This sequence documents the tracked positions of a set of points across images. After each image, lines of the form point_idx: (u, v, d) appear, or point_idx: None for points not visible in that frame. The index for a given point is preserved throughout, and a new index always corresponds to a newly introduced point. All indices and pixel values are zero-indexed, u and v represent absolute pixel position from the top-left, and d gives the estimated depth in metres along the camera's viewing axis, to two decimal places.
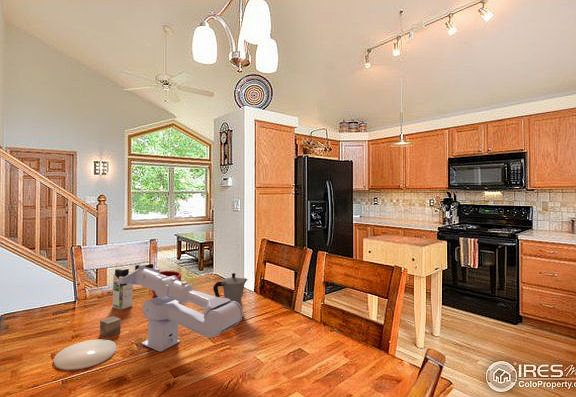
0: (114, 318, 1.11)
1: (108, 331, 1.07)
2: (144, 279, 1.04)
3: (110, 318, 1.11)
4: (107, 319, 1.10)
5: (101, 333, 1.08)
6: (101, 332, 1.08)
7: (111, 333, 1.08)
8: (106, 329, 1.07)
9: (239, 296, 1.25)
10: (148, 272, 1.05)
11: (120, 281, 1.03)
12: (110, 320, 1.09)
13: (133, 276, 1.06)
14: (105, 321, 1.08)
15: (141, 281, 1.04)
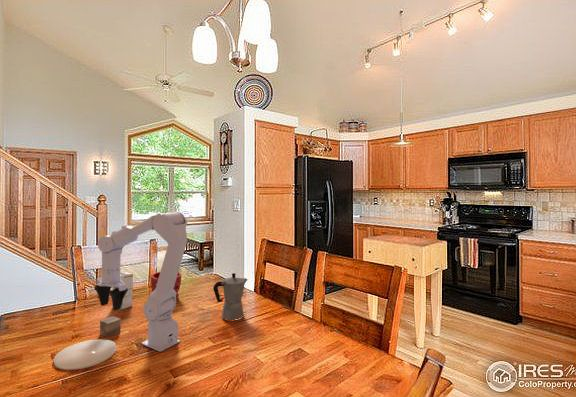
0: (114, 318, 1.11)
1: (108, 331, 1.07)
2: (102, 268, 1.07)
3: (110, 318, 1.11)
4: (107, 319, 1.10)
5: (101, 333, 1.08)
6: (101, 332, 1.08)
7: (111, 333, 1.08)
8: (106, 329, 1.07)
9: (239, 296, 1.25)
10: (105, 270, 1.06)
11: (124, 287, 1.06)
12: (110, 320, 1.09)
13: (114, 283, 1.07)
14: (105, 321, 1.08)
15: (116, 271, 1.08)
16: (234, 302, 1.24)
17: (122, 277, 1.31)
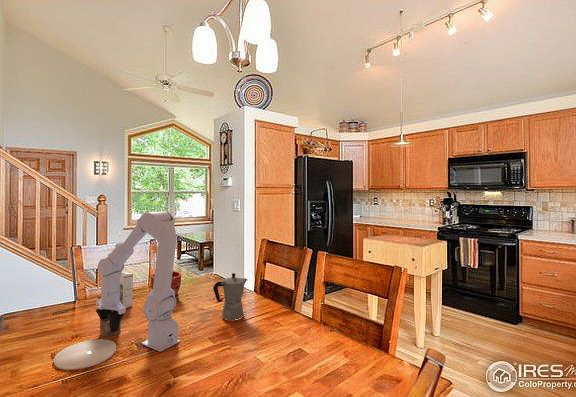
0: None
1: (108, 331, 1.07)
2: (102, 291, 1.07)
3: None
4: (107, 319, 1.10)
5: (101, 332, 1.08)
6: (101, 331, 1.08)
7: (111, 333, 1.08)
8: (106, 329, 1.07)
9: (239, 296, 1.25)
10: (104, 293, 1.07)
11: (123, 310, 1.06)
12: None
13: (114, 306, 1.08)
14: (105, 321, 1.08)
15: (115, 294, 1.08)
16: (234, 302, 1.24)
17: (122, 277, 1.31)
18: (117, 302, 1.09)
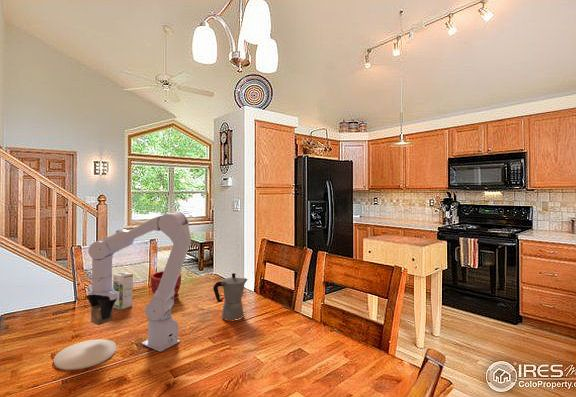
0: None
1: (99, 318, 1.01)
2: (94, 276, 1.01)
3: None
4: (98, 306, 1.04)
5: (92, 320, 1.03)
6: (92, 319, 1.02)
7: (103, 320, 1.02)
8: (97, 316, 1.01)
9: (239, 296, 1.24)
10: (95, 278, 1.01)
11: (115, 295, 1.00)
12: None
13: (105, 292, 1.02)
14: (96, 308, 1.02)
15: (107, 279, 1.02)
16: (234, 302, 1.24)
17: (122, 277, 1.31)
18: (109, 288, 1.03)
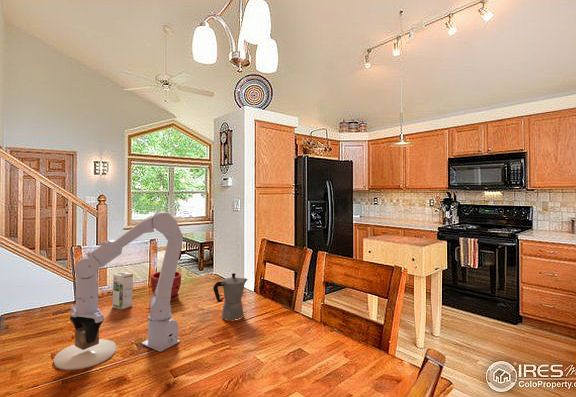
0: None
1: (84, 342, 0.93)
2: (82, 296, 0.92)
3: None
4: (83, 328, 0.95)
5: (76, 344, 0.94)
6: (76, 343, 0.94)
7: (87, 344, 0.94)
8: (81, 340, 0.93)
9: (239, 296, 1.25)
10: (79, 298, 0.92)
11: (101, 317, 0.92)
12: None
13: (90, 313, 0.93)
14: (80, 331, 0.94)
15: (92, 299, 0.94)
16: (234, 302, 1.24)
17: (122, 277, 1.31)
18: (94, 308, 0.94)
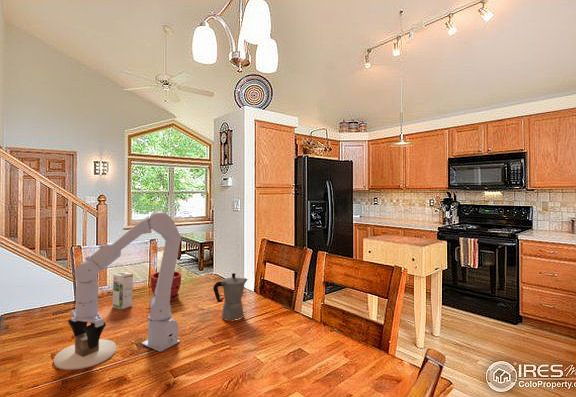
0: None
1: (84, 349, 0.93)
2: (82, 300, 0.92)
3: None
4: (83, 335, 0.95)
5: (76, 351, 0.94)
6: (76, 349, 0.94)
7: (87, 351, 0.94)
8: (81, 347, 0.93)
9: (239, 296, 1.25)
10: (79, 302, 0.92)
11: (101, 322, 0.92)
12: None
13: (90, 318, 0.93)
14: (80, 338, 0.94)
15: (92, 304, 0.94)
16: (234, 302, 1.24)
17: (122, 277, 1.31)
18: (94, 313, 0.94)
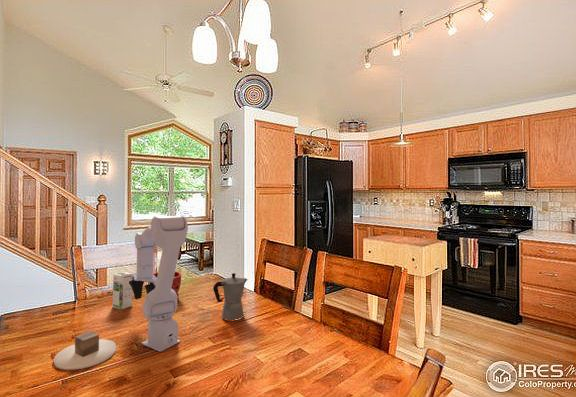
0: (92, 333, 0.97)
1: (84, 349, 0.93)
2: None
3: (87, 333, 0.96)
4: (83, 335, 0.95)
5: (76, 351, 0.94)
6: (76, 349, 0.94)
7: (87, 351, 0.94)
8: (81, 347, 0.93)
9: (239, 296, 1.25)
10: (140, 266, 1.14)
11: None
12: (87, 335, 0.95)
13: (148, 278, 1.14)
14: (80, 338, 0.94)
15: (150, 267, 1.15)
16: (234, 302, 1.24)
17: (122, 277, 1.31)
18: (151, 275, 1.16)
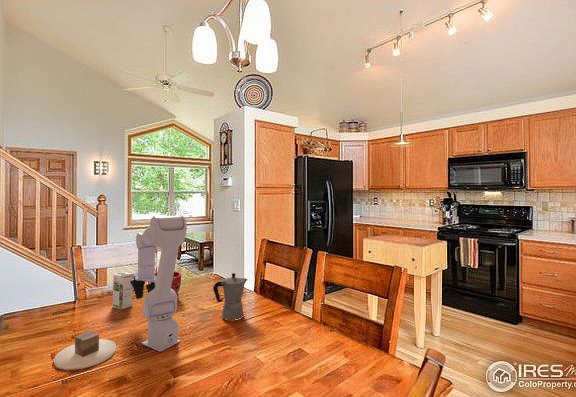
0: (92, 333, 0.97)
1: (84, 349, 0.93)
2: None
3: (87, 333, 0.96)
4: (83, 335, 0.95)
5: (76, 351, 0.94)
6: (76, 349, 0.94)
7: (87, 351, 0.94)
8: (81, 347, 0.93)
9: (239, 296, 1.25)
10: (141, 265, 1.14)
11: None
12: (87, 335, 0.95)
13: (150, 278, 1.15)
14: (80, 338, 0.94)
15: (151, 267, 1.15)
16: (234, 302, 1.24)
17: (122, 277, 1.31)
18: (152, 274, 1.16)
